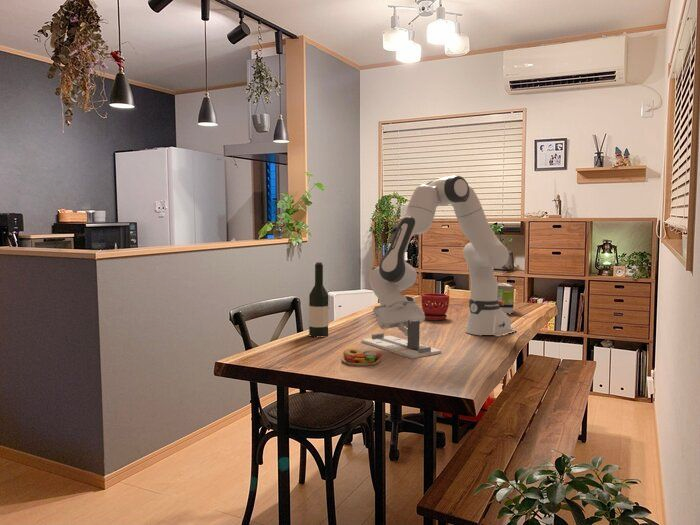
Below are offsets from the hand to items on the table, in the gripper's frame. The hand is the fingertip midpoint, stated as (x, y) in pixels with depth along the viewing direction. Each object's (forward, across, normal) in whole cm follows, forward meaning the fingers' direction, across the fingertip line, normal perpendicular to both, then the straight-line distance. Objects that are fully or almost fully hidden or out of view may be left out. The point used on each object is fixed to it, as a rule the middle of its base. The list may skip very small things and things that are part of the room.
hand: (409, 334), depth 205 cm
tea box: (-24, +95, +32) cm, 103 cm away
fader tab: (+5, 0, +2) cm, 5 cm away
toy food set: (+7, -24, +2) cm, 25 cm away
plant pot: (-26, +52, +34) cm, 67 cm away
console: (0, 0, +8) cm, 8 cm away
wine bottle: (-24, -15, +32) cm, 43 cm away
